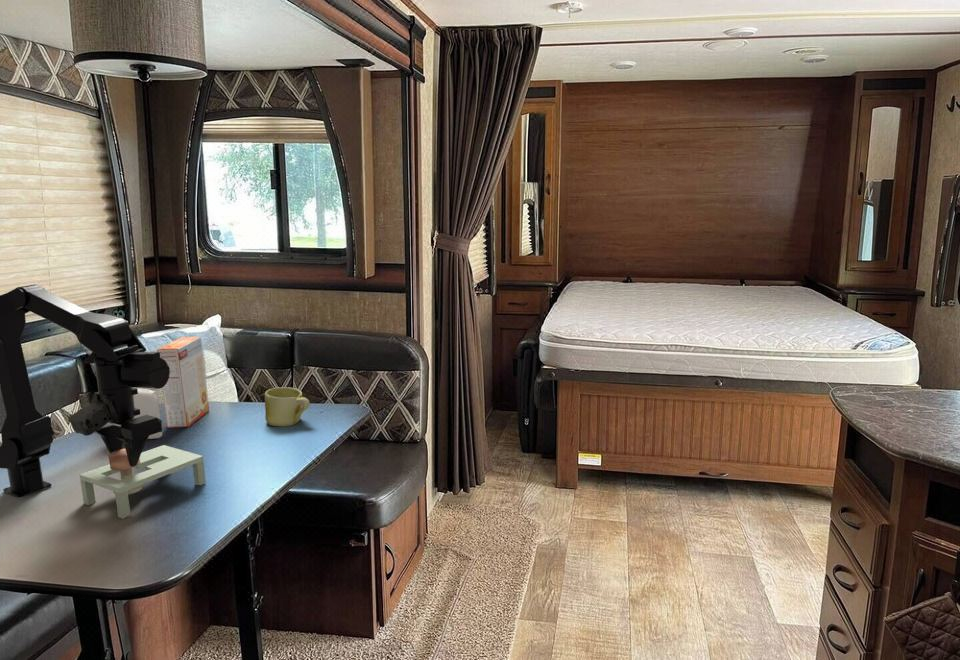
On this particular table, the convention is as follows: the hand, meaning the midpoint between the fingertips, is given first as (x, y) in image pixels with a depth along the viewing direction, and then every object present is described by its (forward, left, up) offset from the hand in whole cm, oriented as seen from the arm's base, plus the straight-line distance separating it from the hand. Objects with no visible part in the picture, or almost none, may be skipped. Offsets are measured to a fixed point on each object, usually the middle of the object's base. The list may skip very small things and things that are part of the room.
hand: (125, 463), depth 138 cm
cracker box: (-33, +38, -8) cm, 51 cm away
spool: (0, 0, -5) cm, 5 cm away
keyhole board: (0, +4, -8) cm, 8 cm away
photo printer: (-31, +23, -8) cm, 39 cm away
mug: (-7, +49, -8) cm, 50 cm away
